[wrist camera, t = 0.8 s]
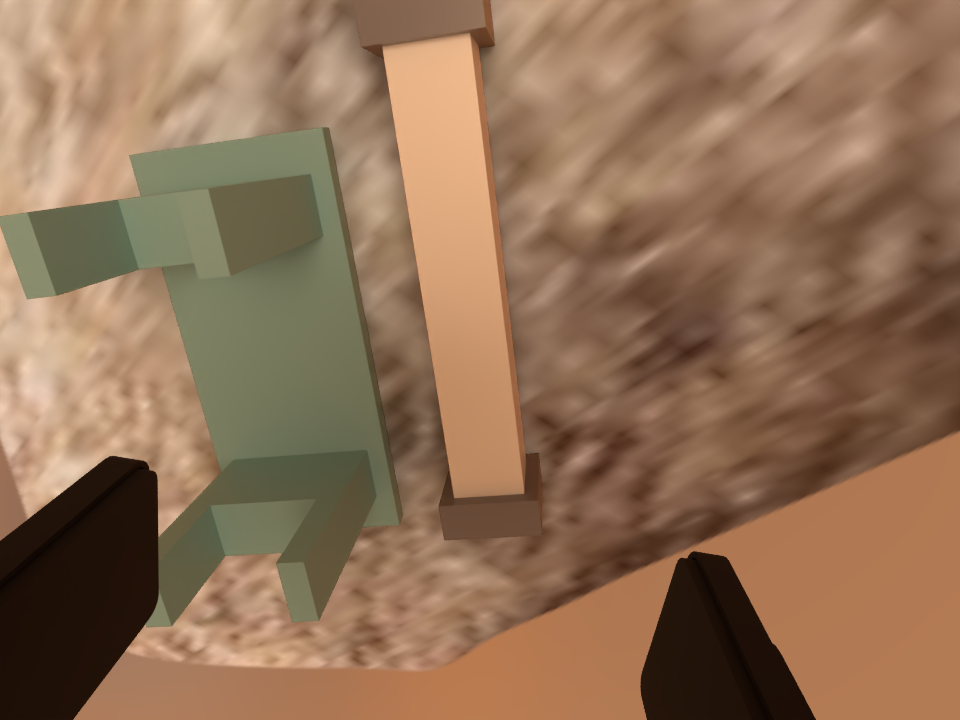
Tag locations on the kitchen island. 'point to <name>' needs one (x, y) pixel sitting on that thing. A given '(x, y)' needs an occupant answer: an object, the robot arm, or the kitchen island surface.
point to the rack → (247, 349)
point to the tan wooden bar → (458, 256)
